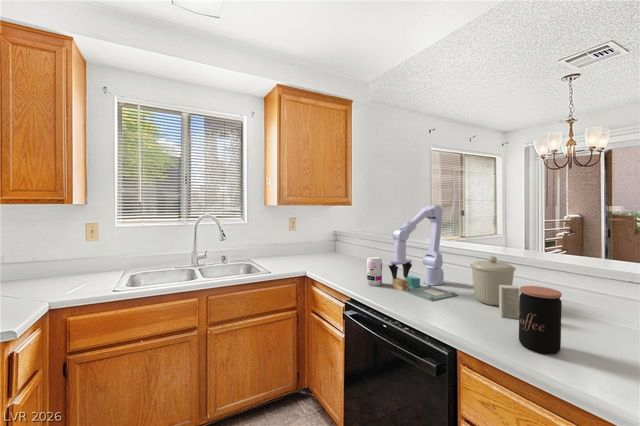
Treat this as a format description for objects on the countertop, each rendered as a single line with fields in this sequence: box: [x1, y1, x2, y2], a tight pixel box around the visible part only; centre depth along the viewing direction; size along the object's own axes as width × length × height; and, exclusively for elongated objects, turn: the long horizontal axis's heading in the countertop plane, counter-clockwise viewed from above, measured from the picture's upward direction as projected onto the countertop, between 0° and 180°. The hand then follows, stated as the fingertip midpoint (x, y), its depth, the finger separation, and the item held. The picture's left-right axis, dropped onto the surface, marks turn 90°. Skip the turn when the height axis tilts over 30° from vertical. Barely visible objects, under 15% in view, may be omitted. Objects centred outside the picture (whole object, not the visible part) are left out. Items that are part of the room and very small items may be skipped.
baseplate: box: [403, 284, 459, 302], centre depth 152 cm, size 18×18×1 cm
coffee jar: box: [518, 285, 563, 355], centre depth 95 cm, size 11×11×18 cm
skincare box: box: [498, 284, 520, 320], centre depth 121 cm, size 6×4×12 cm
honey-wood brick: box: [392, 277, 409, 292], centre depth 161 cm, size 4×7×5 cm, turn 28°
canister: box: [469, 255, 517, 307], centre depth 138 cm, size 18×18×21 cm
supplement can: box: [366, 256, 383, 287], centre depth 169 cm, size 8×8×15 cm
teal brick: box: [403, 275, 421, 289], centre depth 165 cm, size 4×7×5 cm, turn 28°
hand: (400, 277), depth 161 cm, fingers open, 7 cm apart
